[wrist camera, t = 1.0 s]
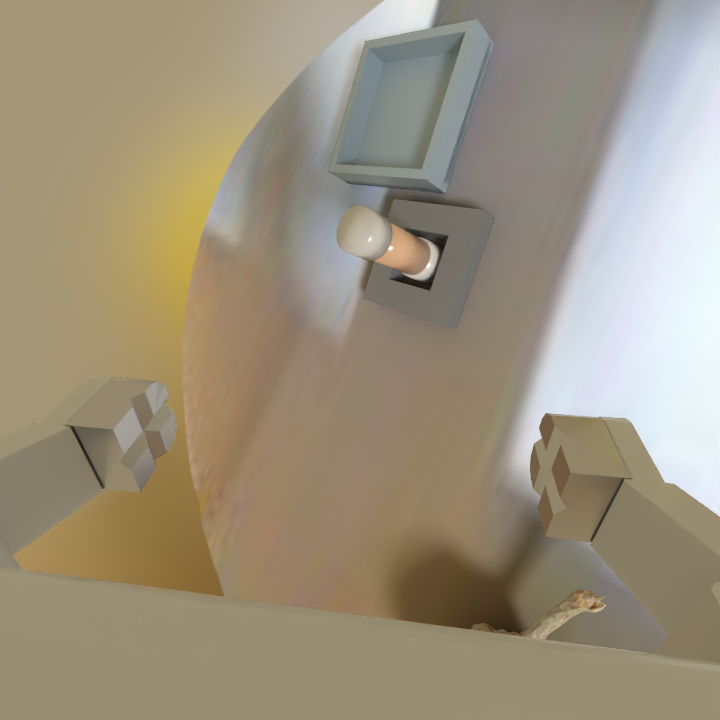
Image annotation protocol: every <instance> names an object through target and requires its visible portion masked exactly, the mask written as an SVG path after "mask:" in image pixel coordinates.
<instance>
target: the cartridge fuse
mask: <svg viewBox="0 0 720 720" xmlns="http://www.w3.org/2000/svg"><path fill="white" fill-rule="evenodd" d="M337 242H338V245H339V247H340V248H341V249H342V250H343V251H345V252H347V253H350V254H352V255H355V256H357V257H360V258H362V259H365V260H368V261H375V262H378V263H380V264H383V265H385V266H388V267H390V268H393V269H395V270H398V271H400V272H402V273H403V274H404V275H405V276H408V277H410V278H413V279H415V280H418V281H420V282H423V283H431V282H433V281H434V278H435V275H436V272H437V269H438V266H439V263H440V260H441V257H442V254H443V251H444V250H443V249H442V248H441V247H439V246H438V245H436V244H434V243H432V242H430V241H428V240H426V239H425V238H422V237H417V236H415V235H413V234H411V233H409V232H407V231H405V230H404V229H402V228H400V227H398V226H396V225H394V224H392V223H390V221H389V220H388V219H387V218H386V217H384V216H382V215H380V214H378V213H376V212H374V211H373V210H371V209H369V208H367V207H365V206H363V205H356V206H353V207H351V208H350V209H348V210H347V211H346V212H345V213H344V215H343V216H342V218H341V220H340V222H339V224H338V228H337Z"/></svg>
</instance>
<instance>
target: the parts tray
mask: <svg viewBox="0 0 720 720" xmlns="http://www.w3.org/2000/svg"><path fill="white" fill-rule="evenodd" d="M493 47H494V43H493V41H492V40H491V38H490V37H489V35H488V34H487V33H486V31H485V30H484V28H483V27H482V25H481V24H480V22H479V21H478V19H476V20H471V21H466V22H461V23H455V24H450V25H445V26H440V27H435V28H430V29H425V30H420V31H415V32H410V33H405V34H400V35H395V36H390V37H385V38H380V39H375V40H370V41H365V44H364V48H363V51H362V55H361V58H360V62H359V65H358V69H357V72H356V76H355V79H354V83H353V86H352V90H351V93H350V97H349V100H348V104H347V107H346V111H345V114H344V118H343V121H342V125H341V128H340V132H339V135H338V139H337V142H336V146H335V149H334V153H333V156H332V160H331V163H330V167H329V170H328V172H330V173H331V174H333V175H335V176H337V177H338V178H340V179H342V180H344V181H345V182H347V183H349V184H358V185H368V186H378V187H388V188H398V189H408V190H418V191H428V192H438V193H446V190H447V186H448V183H449V180H450V177H451V174H452V171H453V168H454V165H455V162H456V159H457V156H458V153H459V150H460V147H461V144H462V141H463V138H464V135H465V132H466V129H467V126H468V123H469V120H470V116H471V113H472V110H473V107H474V104H475V101H476V98H477V95H478V92H479V89H480V86H481V83H482V80H483V77H484V74H485V71H486V68H487V65H488V62H489V59H490V56H491V53H492V50H493Z"/></svg>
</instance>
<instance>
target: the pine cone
mask: <svg viewBox="0 0 720 720" xmlns="http://www.w3.org/2000/svg"><path fill="white" fill-rule="evenodd" d="M603 598H606V597H598V596H595V595H593V593H592V592H591V591H582V590H579V589H578V590H576V591H575V592H573V593H572V594H571V595H570V596H568V597H567V598H566V599H565V600H564V601H562V602H561V603H559V604H558V605H556V606H555V607H554V608H553V609H551V610H550V611H548V612H547V613H545V614H543V615H542V616H541V617H540V618H539V619H538V620H537V621H535V622H533V624H532V626H531V627H530V628H529V629H527V630H525V631H523V632H519V633H516V632H514V631H513V632H510V633H508V632H507V631H505V630H502V629H501V630H494V629H493V628H492V627H490V626H488V625H487V624H485V623H480V624H473V626H472V628H471V630H478V631H485V632H493V633H500V634H508V635H515V636H523V637H530V638H537V639H545V638H546V637H547V636H548V634H549V633H551V632H552V631H554V630H555V629H557V628H558V627H559V626H561V625H562V624H563V623H565V622H566V621H567V620H568V619H570V618H572V617H573V616H575V615H577V614H579V613H581V612H583V611H586V612H597V611H601V610H602V609H603V608H604V607H605V606H606V604H605V603H604V602H603V601H602V600H601V599H603Z"/></svg>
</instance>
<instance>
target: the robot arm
mask: <svg viewBox="0 0 720 720" xmlns="http://www.w3.org/2000/svg"><path fill="white" fill-rule="evenodd" d="M167 398H168V394H167V391H166V389H165V386H164V384H162V383H160V382H157V381H148V380H138V379H129V378H119V377H117V378H115V377H106V376H93V377H90V378H88V379H87V380H86V381H84V383H82V384H81V385H80V386H79V387H78V388H77V389H76V390H75V391H74V392H73V393H72V394H71V395H70V396H68V397H67V398H66V399H65V401H63V402H62V403H61V404H60V405H59V406H58V407H57V408H56V409H55V410H54V411H53V412H51V413H50V414H49V415H48V416H47V417H46V418H45V419H44V420H43V421H42V422H41V423H40V424H38V423H32V424H30V425H27V426H25V427H23V428H21V429H18V430H16V431H14V432H11V433H9V434H7V435H4V436H2V437H0V720H720V517H719V516H718V515H716V514H715V513H714V512H712V511H711V510H709V509H708V508H707V507H705V506H704V505H703V504H701V503H700V502H698V501H697V500H696V499H694V498H693V497H691V496H690V495H689V494H687V493H686V492H685V491H683V490H682V489H680V488H679V487H678V486H676V485H675V484H670V483H665V482H664V480H663V478H662V476H661V475H660V473H659V471H658V469H657V467H656V466H655V464H654V462H653V460H652V459H651V457H650V455H649V453H648V451H647V450H646V448H645V446H644V444H643V443H642V441H641V439H640V437H639V435H638V434H637V432H636V430H635V428H634V426H633V425H632V423H631V422H630V421H629V420H628V419H626V418H613V417H589V416H576V415H562V414H549V413H546V414H545V415H544V417H543V418H542V421H541V424H540V427H539V429H540V432H541V436H542V439H540V440H539V441H537V442H536V443H534V446H533V450H532V454H531V462H530V473H531V481H532V485H533V489H534V490H535V491H536V492H537V493H538V494H539V495H540V496H541V499H540V502H539V505H538V510H539V514H540V518H541V522H542V526H543V530H544V534H545V536H546V537H553V538H560V539H568V540H575V541H582V542H590V543H591V546H592V547H593V548H594V549H595V550H596V552H597V553H598V554H599V555H600V556H601V557H602V559H603V560H604V561H605V562H606V563H607V564H608V566H609V567H610V568H611V569H612V570H613V571H614V573H615V574H616V575H617V576H618V577H619V578H620V579H621V581H622V582H623V583H624V584H625V585H626V586H627V588H628V589H629V590H630V591H631V592H632V593H633V595H634V596H635V597H636V598H637V599H638V600H639V602H640V603H641V604H642V605H643V606H644V607H645V609H646V610H647V611H648V612H649V613H650V614H651V616H652V617H653V618H654V619H655V620H656V621H657V623H658V624H659V625H660V626H661V627H662V628H663V630H664V631H665V632H666V633H667V634H668V635H669V637H668V638H667V639H666V640H665V641H664V643H663V644H662V645H661V646H660V647H659V648H658V650H657V651H656V652H655V653H654V654H650V653H642V652H635V651H627V650H620V649H612V648H605V647H597V646H590V645H582V644H575V643H567V642H560V641H552V640H545V639H537V638H530V637H523V636H515V635H508V634H500V633H493V632H485V631H478V630H470V629H463V628H455V627H448V626H440V625H433V624H425V623H418V622H410V621H403V620H395V619H388V618H380V617H373V616H365V615H358V614H351V613H343V612H336V611H328V610H321V609H313V608H306V607H298V606H291V605H283V604H275V603H268V602H260V601H253V600H245V599H238V598H230V597H223V596H215V595H207V594H200V593H192V592H185V591H177V590H169V589H162V588H154V587H147V586H140V585H133V584H125V583H117V582H110V581H103V580H95V579H88V578H80V577H73V576H65V575H58V574H50V573H42V572H35V571H28V570H24V569H23V568H22V567H21V565H20V564H19V563H18V562H17V561H16V559H15V558H14V557H13V555H15V554H16V553H17V552H19V551H20V550H21V549H23V548H24V547H26V546H27V545H29V544H30V543H31V542H33V541H34V540H35V539H37V538H38V537H40V536H41V535H42V534H44V533H45V532H46V531H48V530H49V529H51V528H52V527H54V526H55V525H56V524H58V523H59V522H61V521H62V520H63V519H65V518H66V517H67V516H69V515H70V514H72V513H73V512H74V511H76V510H77V509H79V508H80V507H81V506H82V505H84V504H86V503H87V502H88V501H90V500H91V499H92V498H94V497H95V496H97V495H98V494H99V493H101V492H102V491H103V489H110V490H124V491H135V492H141V491H142V489H143V488H144V486H145V485H146V483H147V482H148V480H149V478H150V477H151V476H152V474H153V473H154V471H155V470H156V462H155V459H156V458H158V457H160V456H162V455H163V454H165V453H166V452H167V451H168V449H169V448H170V446H171V445H172V443H173V440H174V436H175V433H176V419H175V415H174V412H173V411H172V410H171V409H170V408H169V407H168V406H167V405H166V404H165V401H166V400H167Z"/></svg>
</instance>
